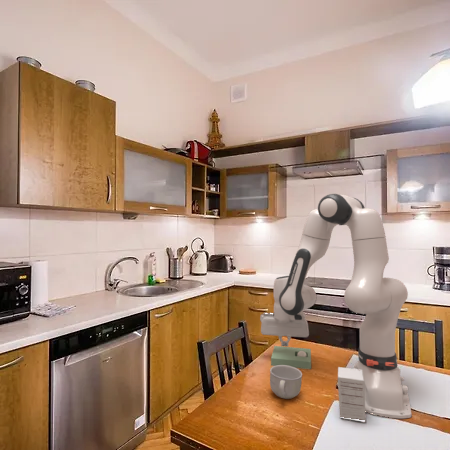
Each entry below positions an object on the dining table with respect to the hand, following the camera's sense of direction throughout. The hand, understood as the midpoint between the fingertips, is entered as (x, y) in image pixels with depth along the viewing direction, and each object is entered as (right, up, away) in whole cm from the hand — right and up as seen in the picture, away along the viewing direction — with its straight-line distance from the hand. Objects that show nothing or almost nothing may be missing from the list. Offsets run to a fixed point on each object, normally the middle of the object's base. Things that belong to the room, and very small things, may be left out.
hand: (284, 345), depth 138 cm
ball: (+7, -4, -1) cm, 8 cm away
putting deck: (+3, -6, 0) cm, 7 cm away
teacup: (-6, -6, -29) cm, 30 cm away
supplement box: (+13, -6, -40) cm, 43 cm away
